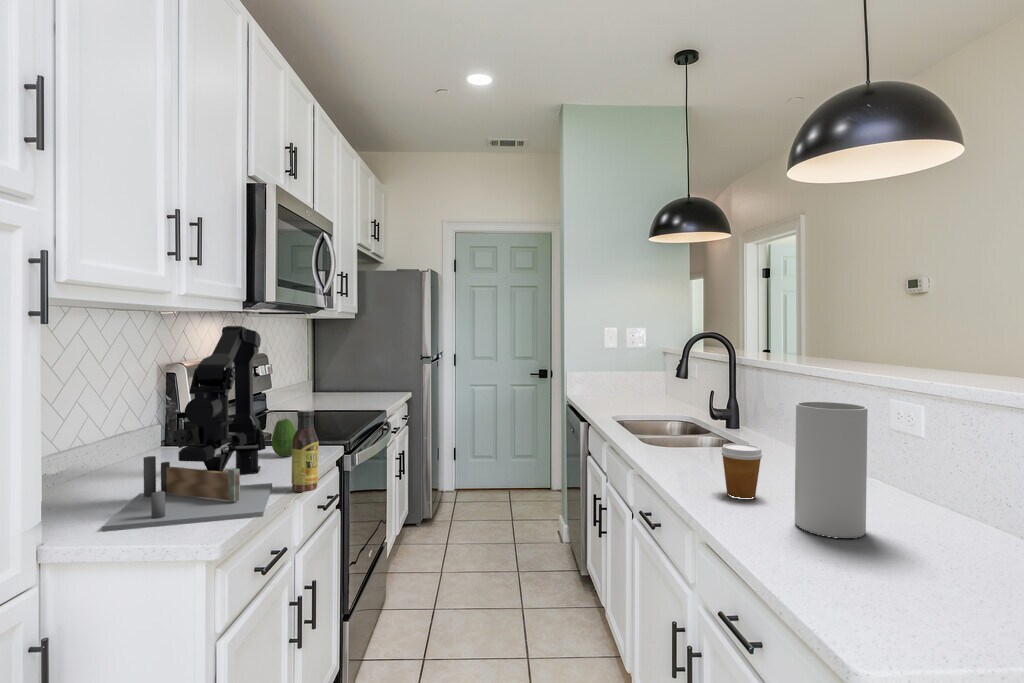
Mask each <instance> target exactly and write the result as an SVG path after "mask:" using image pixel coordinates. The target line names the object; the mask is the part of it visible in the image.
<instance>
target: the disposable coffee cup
mask: <svg viewBox="0 0 1024 683" xmlns="http://www.w3.org/2000/svg"><path fill="white" fill-rule="evenodd" d="M720 453H721V455H722V464H723V470H724V479H725V487H726V495H727V494H729V495H731V496H734V497H740V498H752V497H755V498H756V493H757V487H758V480H759V472H760V466H761V459H762V458H763V455H764V453H763V451H762V448H761V447H760V446H757V445H753V444H747V443H724V444H723V445H722V447H721V449H720Z"/></svg>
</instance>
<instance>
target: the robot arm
mask: <svg viewBox="0 0 1024 683" xmlns="http://www.w3.org/2000/svg"><path fill="white" fill-rule="evenodd" d="M261 340H262V339H261V336H260V334H259V332H257V331H256V330H252V329H249V328H246V327H245V326H242V325H227V326H223V327H222V329H221V336H220V337H219V340H218V342H217V343H216V346H215V347H214V350H213V351H212V353H211V355H209V356H207V357H205V358H203V359H202V360H201V361H200V362H199V363H198V364H197V367H196V368H194V371H193V376H192V381H191V384H190V388H189V395H194V398H192V399H191V400H190V401H188V403H187V404H186V405H185V408H184V416H185V418H186V419H187V420H188V421H190V423H192V424H194V425H195V426H194V427H195V428H193V429H190V430H185V429H184V428H180V429H177V430H175V431H172V437H171V438H172V440H171V443H172V444H174V445H176V446H177V447H178V449H180V450H179V451H178V453H177V454H178V461H179V462H197V463H198V462H202V463H203V464H204V466H205V467H206V470H209V471H220V472H224V470H225V469H226V466H227V464H228V462H229V460H230V459H231V457H232V455H233V454H234V453H235V468H236V469H240V475H243V474H244V475H247V474H258V473H260V470H261V468H262V466H261V465H259V451H263V450H266V448H267V446H266V444H267V443H266V438H265V435H264V432H263V429H262V428H261V421H260V420H259V418H258V417H257V416H256V414H255V412H254V385H253V384H254V379H253V378H254V374H253V372H254V371H253V370H254V369H253V361H254V360H255V359H256V357H257V355H258V354H259V348H260V347H261V343H262V342H261ZM232 364H233V366H234V368H233V366H232ZM233 384H234V385H233ZM233 386H234V403H235V404H234V409H235V410H234V412H235V414H234V415H235V416H234V417H233V418H229V392H230V390H233Z"/></svg>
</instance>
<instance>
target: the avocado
mask: <svg viewBox="0 0 1024 683" xmlns="http://www.w3.org/2000/svg"><path fill="white" fill-rule="evenodd" d="M273 429H274V430H273V434H272V437H271V443H270V445H271V447H272V450H273V452H274V453H275V454H276V455H278V456H280V457H283V456H287V457H292V448H293V436H294V435H295V433H296V431H297V430H296V428H295V426H294V424H293V422H292V421H291V420H290V419H287V418H281V419H279V420H277V422H276V423H275V427H274V428H273Z"/></svg>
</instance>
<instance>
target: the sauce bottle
mask: <svg viewBox="0 0 1024 683" xmlns="http://www.w3.org/2000/svg"><path fill="white" fill-rule="evenodd" d="M296 412H297V413H296V415H297V430H296V433H295V435H294V436H293V448H292V455H291V485H292V486H291V490H292V491H293V492H295V493H296V492H298V493H305V492H311V491H315V490H316V489H317V488H318V482H319V448H320V447H319V446H320V445H319V442H320V441H319V438H318V436H317V433H316V430H315V424H314V421H315V420H314V417H315V410H314V409H298V410H297V411H296Z"/></svg>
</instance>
